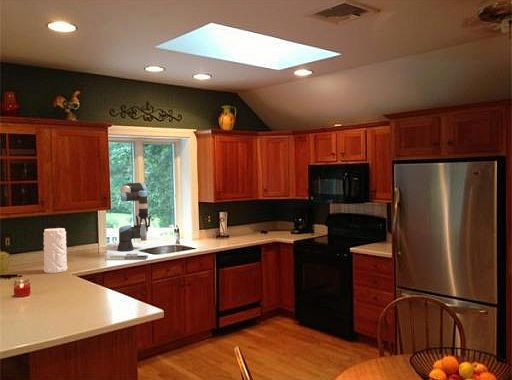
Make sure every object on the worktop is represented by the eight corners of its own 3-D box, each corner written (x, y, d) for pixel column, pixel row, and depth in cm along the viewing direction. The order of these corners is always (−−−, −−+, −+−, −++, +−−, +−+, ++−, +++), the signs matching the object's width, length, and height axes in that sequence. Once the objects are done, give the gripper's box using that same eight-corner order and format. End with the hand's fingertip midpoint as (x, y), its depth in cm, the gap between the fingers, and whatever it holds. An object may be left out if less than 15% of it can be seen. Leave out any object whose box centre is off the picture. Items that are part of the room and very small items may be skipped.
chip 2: (133, 258, 383) (133, 253, 383) (137, 258, 383) (137, 253, 383) (132, 259, 379) (131, 254, 379) (136, 259, 379) (136, 254, 379)
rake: (141, 239, 394) (141, 224, 394) (146, 239, 394) (146, 224, 394) (140, 240, 390) (140, 224, 389) (145, 240, 390) (145, 224, 389)
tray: (109, 259, 387) (109, 255, 386) (127, 259, 387) (127, 255, 387) (105, 261, 376) (105, 258, 375) (123, 261, 376) (123, 258, 376)
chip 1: (127, 258, 383) (127, 253, 383) (132, 258, 383) (132, 253, 383) (126, 259, 379) (126, 254, 379) (130, 259, 379) (130, 254, 379)
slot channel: (127, 259, 386) (126, 255, 386) (147, 259, 386) (147, 255, 386) (124, 261, 377) (124, 257, 377) (145, 261, 377) (145, 257, 377)
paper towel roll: (43, 274, 330) (42, 231, 328) (43, 270, 344) (42, 228, 343) (68, 272, 337) (67, 229, 336) (67, 267, 352) (66, 227, 350)
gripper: (132, 208, 387) (132, 235, 388) (151, 208, 387) (152, 235, 388) (134, 208, 394) (135, 234, 396) (153, 207, 395) (154, 234, 396)
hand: (143, 235), depth 392 cm, fingers closed on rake, 3 cm apart
